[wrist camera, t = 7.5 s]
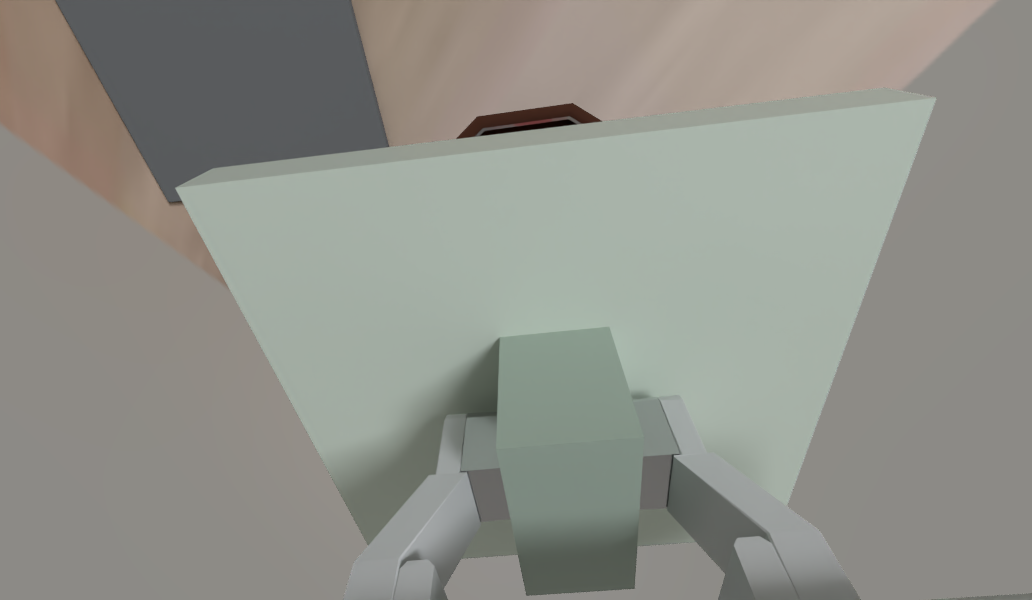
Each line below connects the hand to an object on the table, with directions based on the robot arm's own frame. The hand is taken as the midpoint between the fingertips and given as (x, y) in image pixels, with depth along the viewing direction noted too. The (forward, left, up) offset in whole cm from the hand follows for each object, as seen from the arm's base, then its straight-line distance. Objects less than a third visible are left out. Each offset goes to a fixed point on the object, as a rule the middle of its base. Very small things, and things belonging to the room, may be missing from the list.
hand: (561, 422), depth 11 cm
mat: (-8, -15, -19) cm, 26 cm away
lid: (0, 0, -2) cm, 2 cm away
